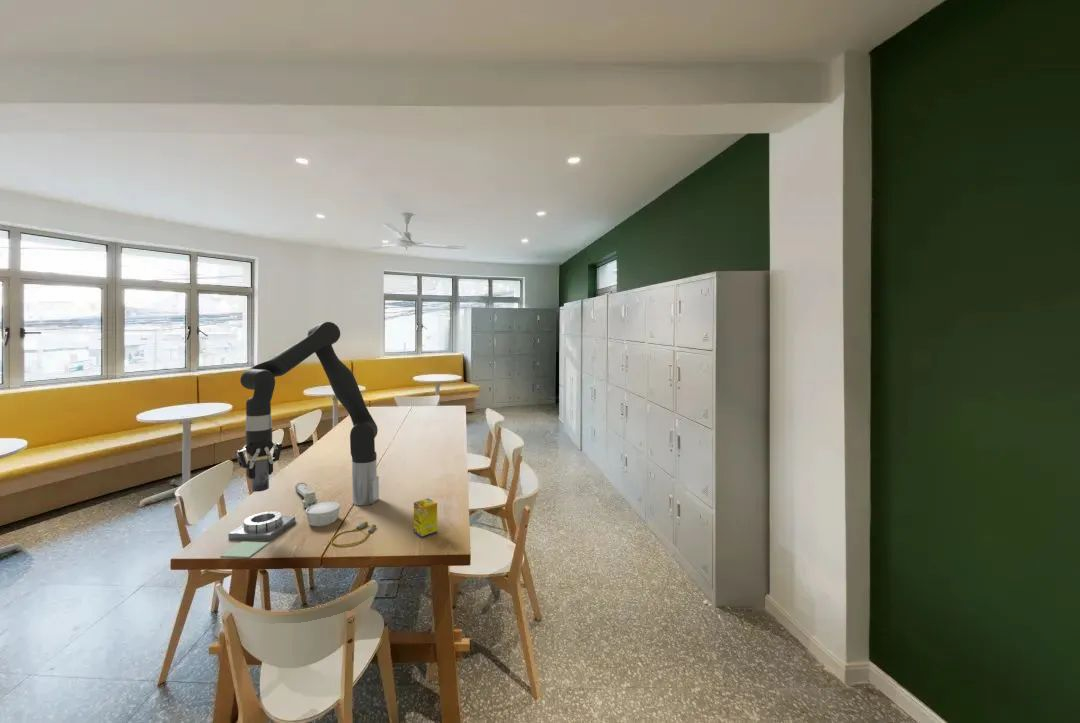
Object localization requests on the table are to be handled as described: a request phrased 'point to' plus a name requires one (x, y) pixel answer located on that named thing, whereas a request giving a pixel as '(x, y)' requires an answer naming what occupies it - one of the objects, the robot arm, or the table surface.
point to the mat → (244, 549)
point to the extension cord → (356, 530)
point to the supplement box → (425, 517)
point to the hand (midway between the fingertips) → (260, 476)
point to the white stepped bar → (306, 495)
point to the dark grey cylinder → (261, 473)
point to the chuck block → (262, 526)
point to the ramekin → (322, 513)
